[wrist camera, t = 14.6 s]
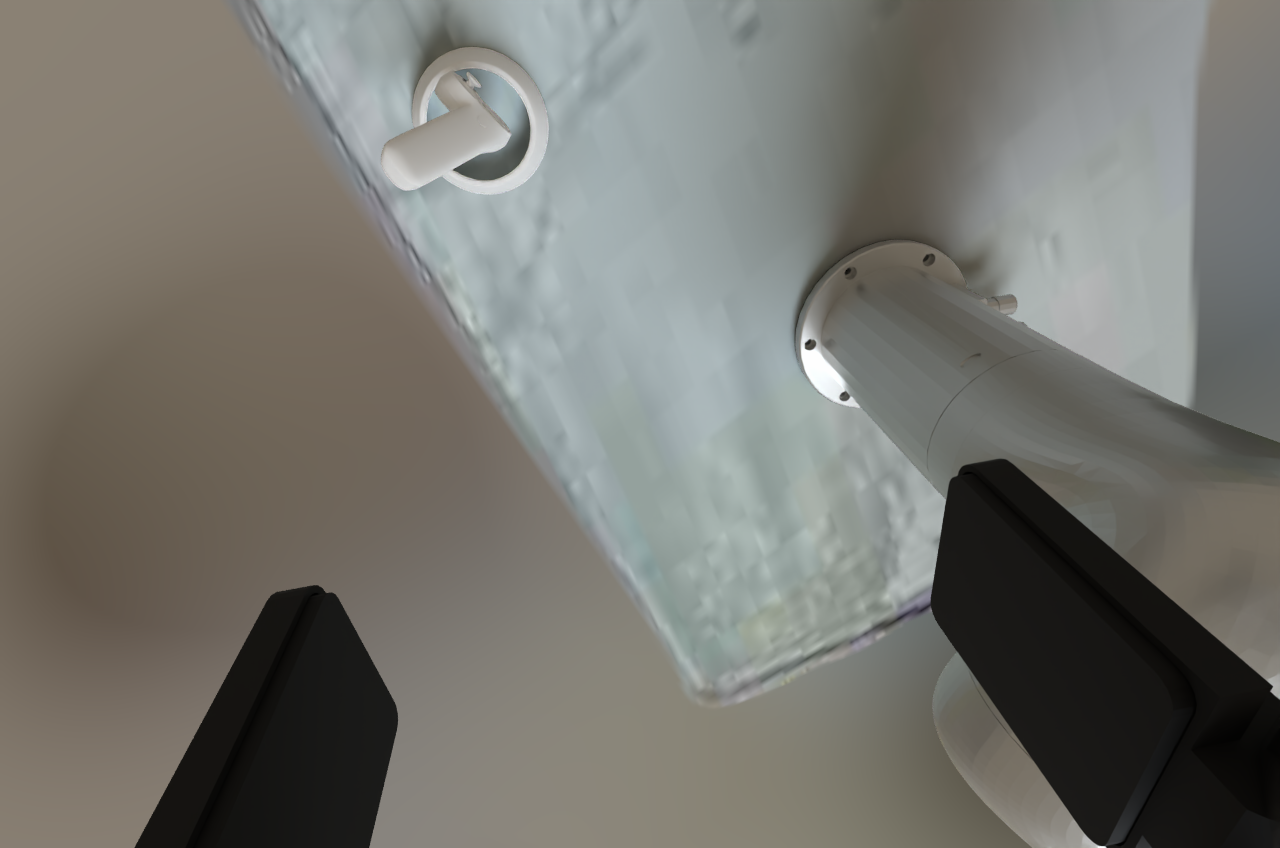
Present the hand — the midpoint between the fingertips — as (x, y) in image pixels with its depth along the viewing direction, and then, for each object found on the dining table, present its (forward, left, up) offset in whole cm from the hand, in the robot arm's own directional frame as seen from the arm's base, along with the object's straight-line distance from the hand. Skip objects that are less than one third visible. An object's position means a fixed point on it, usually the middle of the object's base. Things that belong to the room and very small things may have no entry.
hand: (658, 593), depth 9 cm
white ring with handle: (+5, -5, -34) cm, 34 cm away
